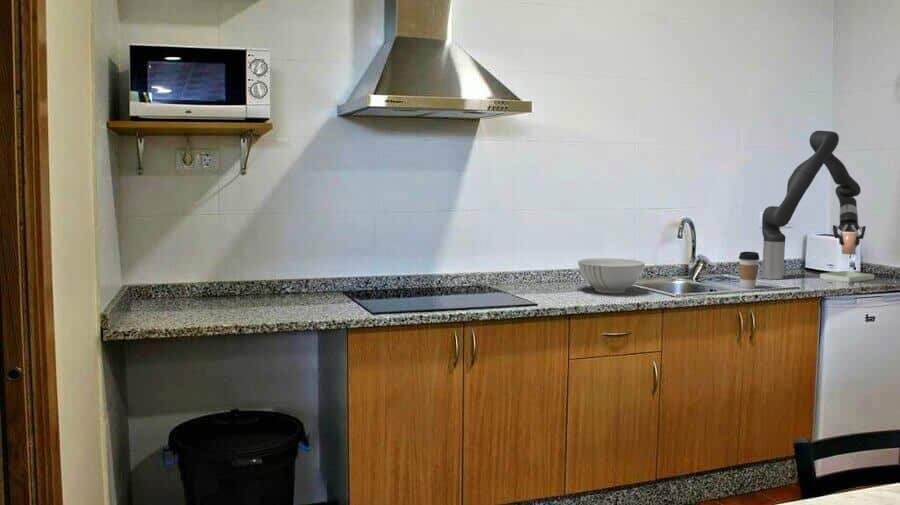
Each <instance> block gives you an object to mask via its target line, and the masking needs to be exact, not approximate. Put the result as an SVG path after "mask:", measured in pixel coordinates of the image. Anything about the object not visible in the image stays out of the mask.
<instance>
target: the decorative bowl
mask: <svg viewBox="0 0 900 505" xmlns="http://www.w3.org/2000/svg"><path fill="white" fill-rule="evenodd" d="M577 264H578V268H579V271H580V272H581V275H582V277H583V278H584V280H585V281H586V282H587V283H588V284H589V285H590V286H591V287H593V288H594V291H596V292H598V293H602V294H623V293H626V291H627V289H629V288H631V287H632V286H633V285H634V284H636V283H637V282H638V280H639V279H640V277H641V275H642V274H643V272H644V269H645V266H646V265H645V262H643V261H641V260H637V259H636V260H635V259H629V258H614V257H613V258H612V257H592V258H582V259H579V260H578V261H577Z"/></svg>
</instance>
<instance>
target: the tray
mask: <svg viewBox="0 0 900 505" xmlns="http://www.w3.org/2000/svg"><path fill="white" fill-rule="evenodd" d="M819 280H823V281H824V280H825V281H831V282H832V281H833V282H837V281H838V283H846V284H852V283H853V284H854V283H861V282H869V281H874V280H875V274H873V273H865V272H858V271H849V270H843V271H834V272H833V271H832V272H823V273H820V274H819Z"/></svg>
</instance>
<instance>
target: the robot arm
mask: <svg viewBox="0 0 900 505" xmlns="http://www.w3.org/2000/svg"><path fill="white" fill-rule="evenodd" d="M839 142H840V137H839V134H838V133H837V132H836V131H831V130H815V131H814V132H812V133H811V135H810V137H809V145H810V147H811V149H812V151H814V153H813V154H812V155H811V156H810V157H808V158H807V159H806V160H805V161H803V162H801V163H800V164H799V165H798V166H796V168H795V169H794V170H793V172H792V173H791V175H790V176H789V178H788V180H787V187H786V194H785V197H784V199H783V200H782V202H781V203H780V204H779V205H778V206H773V205H770V206H767V207H766V208H765V209H764V210H763V213H762V218H761V227H762V228H761V230H762V231H761V233H762V236H763V244H762V245H763V247H762V248H763V249H762V260H761V261H762V264H761V279H766V280H767V279H768V280H782V279H784V271H785V270H784V268H785V267H784V266H785V251H786V250H785V248H786V235H785V234H784V233H782V231H781V229H780V228H783V227H785V226H786V225H788V224H789V222H790V221H791V219H792V217H793V215H794V213H795V211H796V210H797V207H798V205H799V203H800V202H801V200H802V198H803V196H804V195H805V194H806V192H807V191H808V189H809V187H810V186H811V185H812V182H813V181H814V180H815V178H816V176H817V174H818V173H819V171H820V170H821V168H822V167H823V165H824V166H825V167H826V168H827V170H828V172H829V175H830V176H831V178H832V180H833V183H835V184H836V185H837V187H836V188H835V190H834V191H835V194H836V197H837V199H838V202H839V225H838V226H837V225H836V224H834V225H832V232H833V236H834V238H835V239H838V244H839V245H840V246H842V245H843V232H845V231H850V232H857V234H856V247H858V246H859V245H860V240H864V237H865V233H866V229H867V228H866V225H863V226H860V225H859V218H858V217H859V216H858V208H857V200H856V199H857V198H855V197H858V196H859V195H860V194H861V189H862V188H861V186H860V184H859V183H858V182H857V181H856V180H854V178H853V177H852V176H851V175H850V174H849V171H848V169H847V167H846V166H845V164H844V163H843V162H842V161H841V160H840V159H839V158H838V157H837V156H836V155H834V151H835V149H836V148H837V146H838V145H839ZM838 230H839V231H840V233H838ZM859 232H861V233H860V234H859Z"/></svg>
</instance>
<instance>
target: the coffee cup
mask: <svg viewBox="0 0 900 505" xmlns="http://www.w3.org/2000/svg"><path fill="white" fill-rule="evenodd" d="M738 260H739V263H738V266H739V267H738V268H739V288H741V289H755V288H756V283H757V277H758V271H759V270H758V269H759V260H760V254H759V252H755V251H743V252H740V253H739V256H738Z"/></svg>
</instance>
